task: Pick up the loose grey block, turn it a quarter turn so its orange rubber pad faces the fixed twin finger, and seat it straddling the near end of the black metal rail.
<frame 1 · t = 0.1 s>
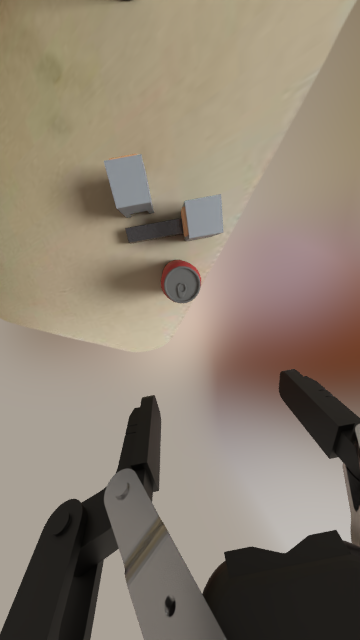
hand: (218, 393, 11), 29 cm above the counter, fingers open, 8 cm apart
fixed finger: (197, 224, 33), resting in rail
rail: (169, 229, 33), on the counter
grey block: (136, 197, 30), on the counter
beer can: (177, 275, 36), on the counter
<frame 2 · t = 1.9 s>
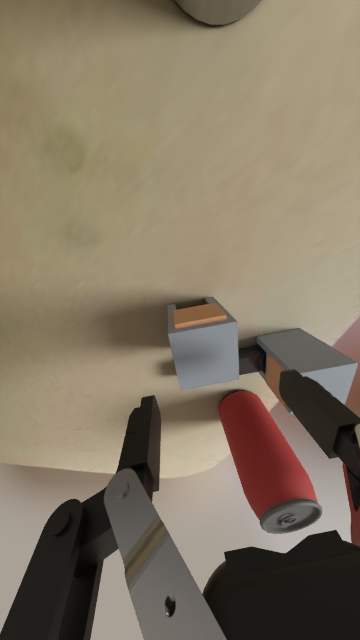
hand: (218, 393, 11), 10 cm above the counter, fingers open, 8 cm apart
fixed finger: (277, 349, 22), resting in rail
rail: (236, 357, 22), on the counter
grey block: (193, 323, 20), on the counter
beer can: (237, 403, 26), on the counter
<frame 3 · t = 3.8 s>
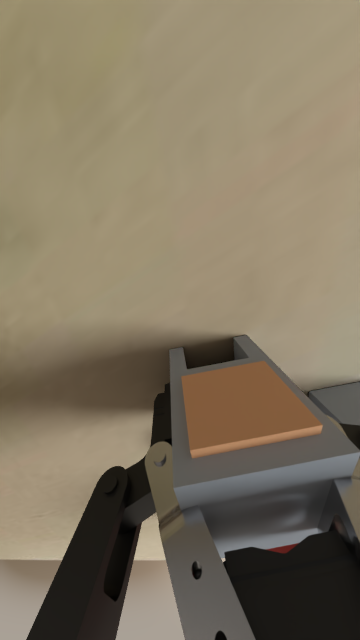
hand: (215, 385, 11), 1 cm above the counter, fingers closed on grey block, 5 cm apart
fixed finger: (337, 407, 14), resting in rail
grey block: (212, 375, 12), on the counter, touching gripper
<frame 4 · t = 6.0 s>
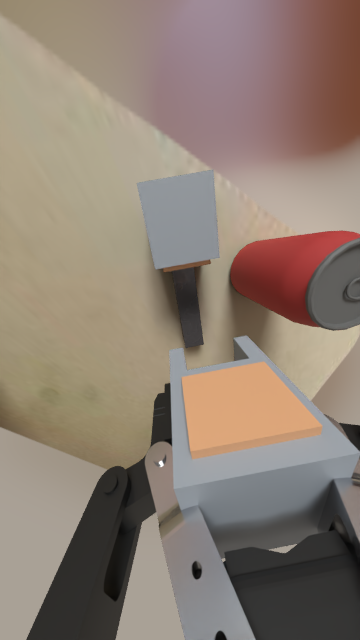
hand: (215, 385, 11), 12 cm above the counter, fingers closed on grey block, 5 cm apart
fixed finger: (175, 234, 19), resting in rail
rail: (183, 283, 21), on the counter
grey block: (212, 375, 12), point 11 cm above the counter, touching gripper
beer can: (253, 269, 21), on the counter
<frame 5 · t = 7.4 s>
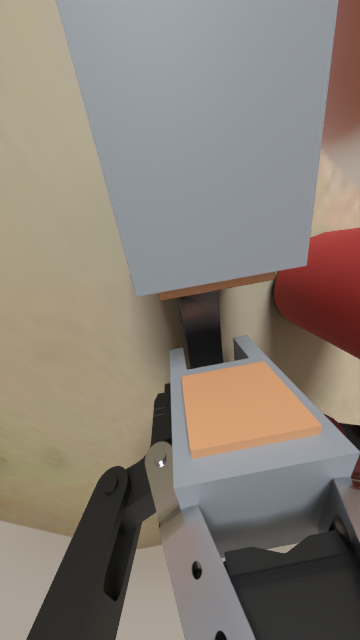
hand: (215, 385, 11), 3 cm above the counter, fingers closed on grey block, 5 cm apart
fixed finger: (183, 219, 10), resting in rail
rail: (195, 302, 12), on the counter
grey block: (212, 375, 12), point 2 cm above the counter, touching gripper
beer can: (309, 280, 13), on the counter
when the fingers open (1 cm above the counter, at t = 8.6 s): grey block stays where it is, resting in rail.
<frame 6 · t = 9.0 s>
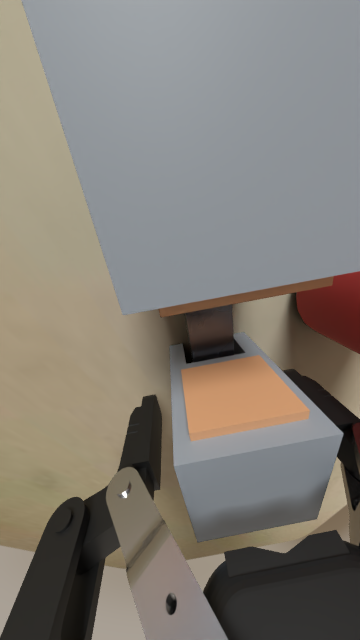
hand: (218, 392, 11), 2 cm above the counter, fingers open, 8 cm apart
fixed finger: (189, 208, 9), resting in rail
rail: (202, 309, 11), on the counter
grey block: (210, 371, 13), resting in rail
beer can: (337, 282, 11), on the counter
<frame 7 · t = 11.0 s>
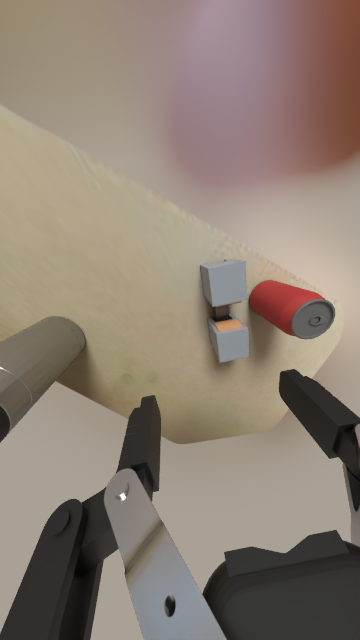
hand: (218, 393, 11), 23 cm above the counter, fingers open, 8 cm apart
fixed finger: (216, 277, 30), resting in rail
rail: (219, 306, 33), on the counter
grey block: (221, 328, 35), resting in rail
beer can: (264, 296, 33), on the counter
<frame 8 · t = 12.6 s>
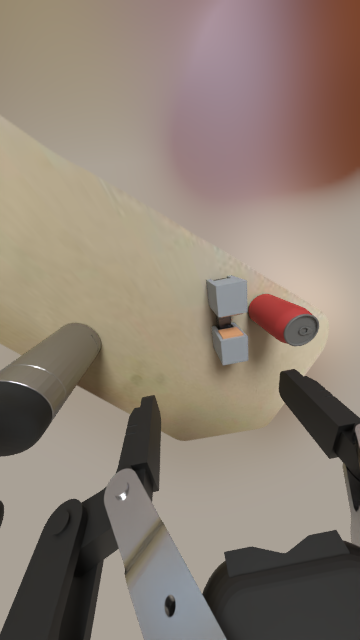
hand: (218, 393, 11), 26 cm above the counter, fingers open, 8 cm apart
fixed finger: (220, 291, 35), resting in rail
rail: (221, 315, 37), on the counter
grey block: (223, 335, 39), resting in rail
beer can: (261, 307, 37), on the counter
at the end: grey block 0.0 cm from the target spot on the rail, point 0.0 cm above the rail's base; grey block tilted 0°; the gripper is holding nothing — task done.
